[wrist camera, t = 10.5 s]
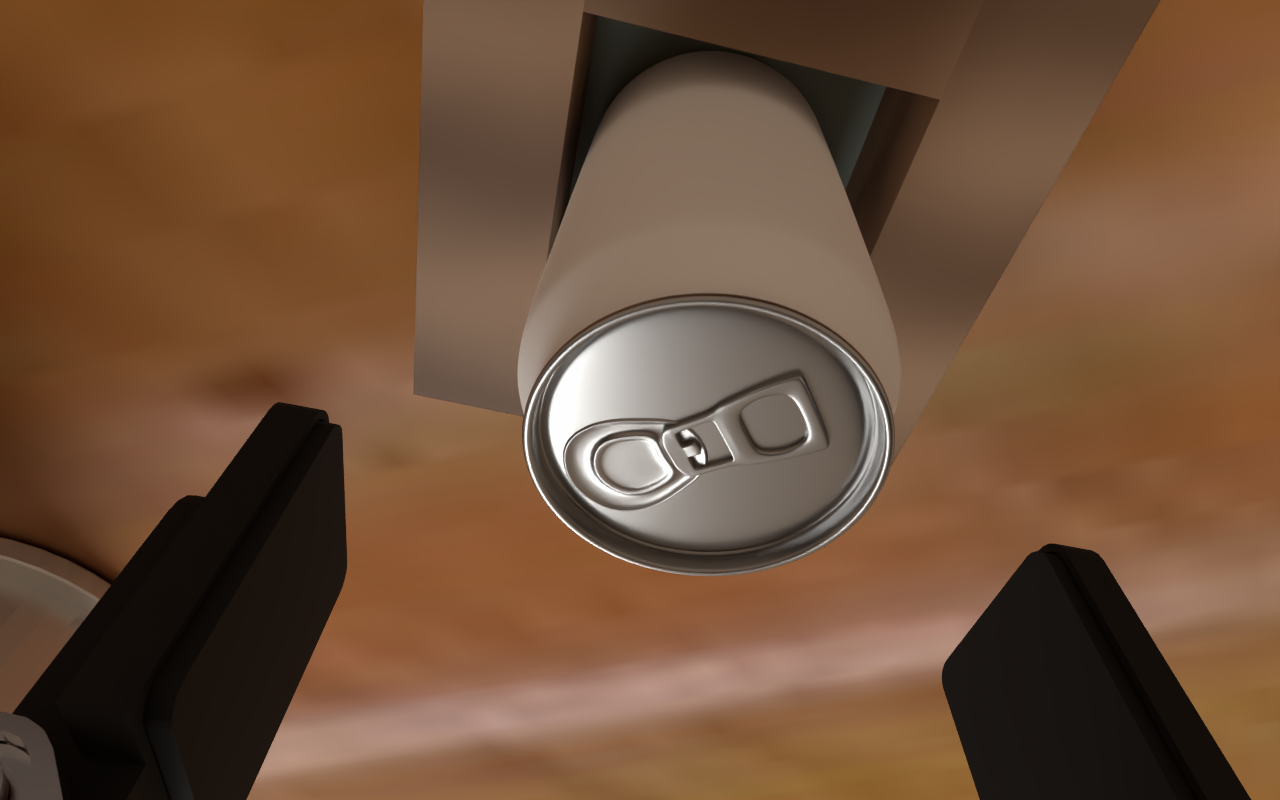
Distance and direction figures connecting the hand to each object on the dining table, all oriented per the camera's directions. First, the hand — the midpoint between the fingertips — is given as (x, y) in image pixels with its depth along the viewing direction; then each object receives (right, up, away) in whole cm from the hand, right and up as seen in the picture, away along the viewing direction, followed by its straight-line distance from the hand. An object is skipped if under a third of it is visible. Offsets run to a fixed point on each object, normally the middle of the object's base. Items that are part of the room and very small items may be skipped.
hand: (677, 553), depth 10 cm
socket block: (+2, +9, +11) cm, 14 cm away
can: (+1, +9, +11) cm, 14 cm away
